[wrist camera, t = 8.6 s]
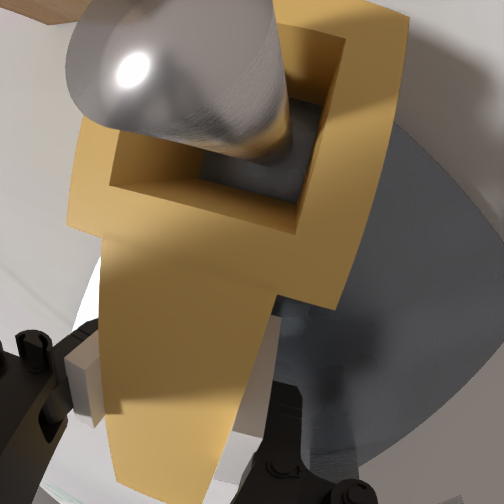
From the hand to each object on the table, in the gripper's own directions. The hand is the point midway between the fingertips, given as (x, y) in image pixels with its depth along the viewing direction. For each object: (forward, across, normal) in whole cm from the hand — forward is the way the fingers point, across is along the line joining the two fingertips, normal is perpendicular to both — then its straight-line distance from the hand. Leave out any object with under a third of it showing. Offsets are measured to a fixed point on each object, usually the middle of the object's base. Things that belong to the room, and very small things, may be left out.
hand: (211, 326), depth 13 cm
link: (0, 0, +2) cm, 2 cm away
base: (+2, +4, 0) cm, 5 cm away
